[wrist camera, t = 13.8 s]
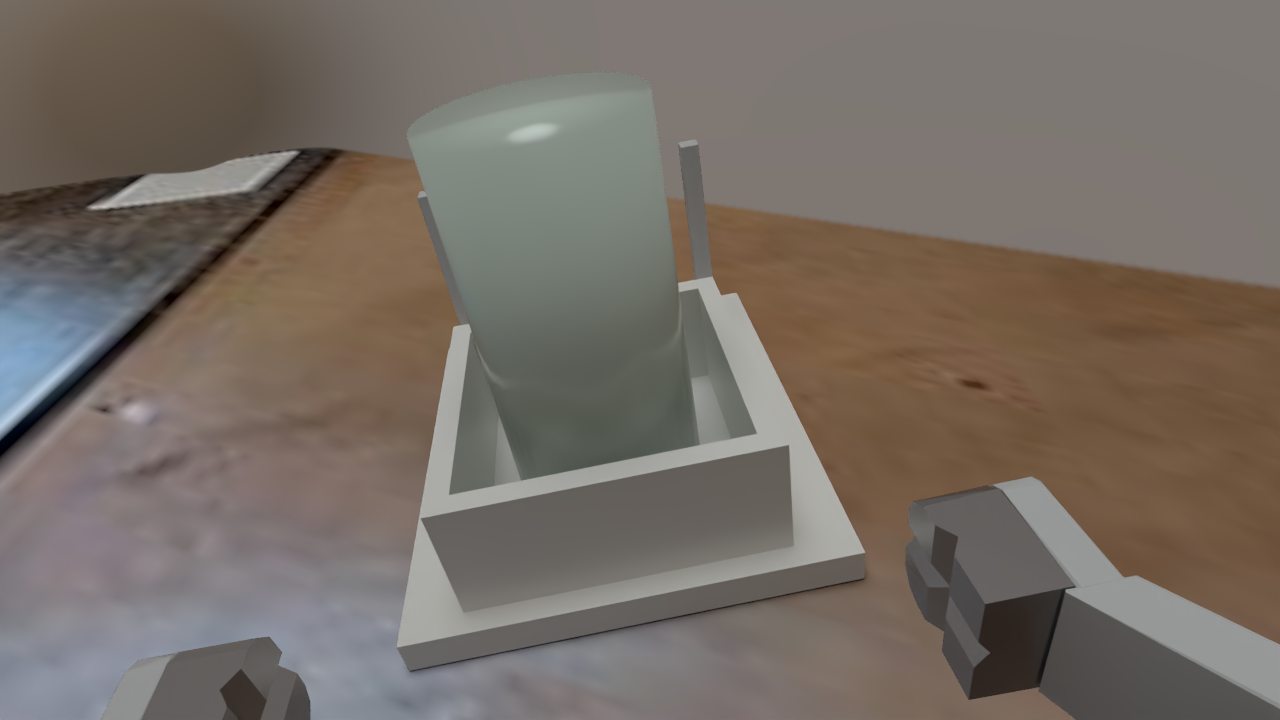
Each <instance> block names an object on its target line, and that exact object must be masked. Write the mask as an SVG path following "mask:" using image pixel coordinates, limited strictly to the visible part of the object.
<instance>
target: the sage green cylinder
mask: <svg viewBox="0 0 1280 720" xmlns="http://www.w3.org/2000/svg"><path fill="white" fill-rule="evenodd" d="M407 138H408V142H409V144H410V148H411V150H412V153H413V157H414V160H415V163H416V166H417V169H418V172H419V175H420V178H421V181H422V184H423V187H424V190H425V193H426V196H427V199H428V202H429V205H430V208H431V211H432V214H433V217H434V220H435V223H436V226H437V229H438V232H439V235H440V238H441V241H442V244H443V247H444V250H445V253H446V256H447V259H448V262H449V265H450V268H451V271H452V274H453V277H454V280H455V283H456V286H457V289H458V292H459V295H460V298H461V301H462V304H463V307H464V310H465V313H466V316H467V319H468V322H469V325H470V328H471V332H472V335H473V338H474V341H475V344H476V347H477V350H478V353H479V356H480V359H481V362H482V365H483V368H484V371H485V374H486V377H487V380H488V383H489V386H490V389H491V392H492V395H493V398H494V401H495V404H496V407H497V410H498V413H499V416H500V419H501V422H502V425H503V428H504V431H505V434H506V437H507V440H508V443H509V446H510V449H511V452H512V455H513V458H514V461H515V464H516V467H517V470H518V473H519V476H520V479H521V481H522V480H527V479H532V478H537V477H542V476H547V475H552V474H557V473H562V472H568V471H573V470H578V469H583V468H588V467H593V466H598V465H603V464H608V463H613V462H618V461H623V460H628V459H633V458H638V457H643V456H648V455H653V454H658V453H663V452H668V451H673V450H678V449H683V448H688V447H693V446H698V445H700V440H699V433H698V425H697V418H696V411H695V404H694V396H693V389H692V382H691V374H690V367H689V360H688V352H687V345H686V338H685V330H684V323H683V316H682V308H681V301H680V294H679V286H678V279H677V272H676V265H675V257H674V250H673V243H672V235H671V228H670V221H669V213H668V206H667V199H666V192H665V184H664V177H663V169H662V163H661V155H660V148H659V141H658V133H657V126H656V118H655V111H654V104H653V97H652V89H651V86H650V84H649V82H647V81H646V80H645V79H642V78H641V77H638V76H634V75H630V74H624V73H616V72H584V73H583V72H582V73H570V74H561V75H552V76H546V77H539V78H534V79H528V80H523V81H518V82H514V83H509V84H505V85H501V86H497V87H493V88H490V89H486V90H483V91H479V92H476V93H473V94H470V95H467V96H464V97H462V98H459V99H457V100H454V101H451V102H449V103H446V104H444V105H442V106H440V107H438V108H436V109H434V110H432V111H430V112H428V113H427V114H425V115H423V116H422V117H421V118H419V119H418V120H416V121H415V122H414V123H413V124H412V125H411V126H410V128H409V129H408V131H407Z"/></svg>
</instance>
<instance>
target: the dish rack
mask: <svg viewBox="0 0 1280 720" xmlns="http://www.w3.org/2000/svg"><path fill="white" fill-rule="evenodd" d="M678 147H679V156H680V164H681V172H682V180H683V189H684V197H685V205H686V213H687V221H688V230H689V238H690V246H691V254H692V262H693V271H694V279H695V280H692V281H687V282H682V283H678V286H679V294H680V301H681V308H682V316H683V323H684V330H685V338H686V345H687V352H688V360H689V367H690V374H691V382H692V389H693V396H694V404H695V411H696V418H697V425H698V433H699V440H700V445H698V446H693V447H688V448H683V449H678V450H673V451H668V452H663V453H658V454H653V455H648V456H643V457H638V458H633V459H628V460H623V461H618V462H613V463H608V464H603V465H598V466H593V467H588V468H583V469H578V470H573V471H568V472H562V473H557V474H552V475H547V476H542V477H537V478H532V479H527V480H522V481H521V479H520V476H519V473H518V470H517V467H516V464H515V461H514V458H513V455H512V452H511V449H510V446H509V443H508V440H507V437H506V434H505V431H504V428H503V425H502V422H501V419H500V416H499V413H498V410H497V407H496V404H495V401H494V398H493V395H492V392H491V389H490V386H489V383H488V380H487V377H486V374H485V371H484V368H483V365H482V362H481V359H480V356H479V353H478V350H477V347H476V344H475V341H474V338H473V335H472V332H471V328H470V325H469V322H468V319H467V316H466V313H465V310H464V307H463V304H462V301H461V298H460V295H459V292H458V289H457V286H456V283H455V280H454V277H453V274H452V271H451V268H450V265H449V262H448V259H447V256H446V253H445V250H444V247H443V244H442V241H441V238H440V235H439V232H438V229H437V226H436V223H435V220H434V217H433V214H432V211H431V208H430V205H429V202H428V199H427V196H426V193H425V191H421V192H419V195H418V198H417V199H418V202H419V204H420V207H421V210H422V213H423V216H424V219H425V222H426V225H427V228H428V231H429V234H430V237H431V240H432V243H433V246H434V249H435V252H436V255H437V257H438V260H439V263H440V266H441V269H442V272H443V275H444V278H445V281H446V284H447V287H448V290H449V293H450V296H451V299H452V302H453V305H454V308H455V310H456V313H457V316H458V319H459V322H460V326H455V327H454V328H453V333H452V339H451V345H450V349H449V350H448V356H447V361H446V367H445V373H444V379H443V384H442V390H441V396H440V402H439V407H438V413H437V419H436V424H435V430H434V436H433V442H432V447H431V453H430V459H429V465H428V470H427V476H426V482H425V487H424V493H423V499H422V505H421V510H420V516H419V522H418V528H417V533H416V539H415V545H414V550H413V556H412V562H411V568H410V573H409V579H408V585H407V591H406V596H405V602H404V608H403V613H402V619H401V625H400V631H399V636H398V642H397V649H398V651H399V653H400V655H401V657H402V658H403V660H404V662H405V664H406V665H407V667H408V669H409V671H411V670H416V669H421V668H426V667H431V666H436V665H441V664H446V663H450V662H455V661H460V660H465V659H470V658H475V657H480V656H485V655H490V654H495V653H500V652H504V651H509V650H514V649H519V648H524V647H529V646H534V645H539V644H544V643H549V642H554V641H559V640H563V639H568V638H573V637H578V636H583V635H588V634H593V633H598V632H603V631H608V630H613V629H617V628H622V627H627V626H632V625H637V624H642V623H647V622H652V621H657V620H662V619H667V618H672V617H676V616H681V615H686V614H691V613H696V612H701V611H706V610H711V609H716V608H721V607H726V606H731V605H735V604H740V603H745V602H750V601H755V600H760V599H765V598H770V597H775V596H780V595H785V594H789V593H794V592H799V591H804V590H809V589H814V588H819V587H824V586H829V585H834V584H839V583H844V582H848V581H853V580H858V579H863V578H864V574H865V551H864V549H863V547H862V545H861V543H860V541H859V539H858V537H857V535H856V533H855V531H854V529H853V527H852V525H851V523H850V521H849V519H848V517H847V515H846V513H845V511H844V509H843V507H842V505H841V503H840V501H839V499H838V497H837V495H836V493H835V491H834V489H833V487H832V485H831V483H830V481H829V479H828V477H827V475H826V473H825V471H824V469H823V466H822V464H821V462H820V460H819V458H818V456H817V454H816V452H815V450H814V448H813V446H812V444H811V442H810V440H809V438H808V436H807V434H806V432H805V430H804V428H803V426H802V424H801V422H800V420H799V418H798V416H797V414H796V412H795V410H794V408H793V406H792V404H791V402H790V400H789V398H788V396H787V394H786V392H785V390H784V388H783V386H782V384H781V382H780V380H779V378H778V376H777V374H776V372H775V370H774V368H773V366H772V364H771V362H770V360H769V358H768V356H767V354H766V352H765V350H764V348H763V346H762V344H761V342H760V340H759V338H758V336H757V333H756V331H755V329H754V327H753V325H752V323H751V321H750V319H749V317H748V315H747V313H746V311H745V309H744V307H743V305H742V303H741V301H740V299H739V297H738V295H737V293H732V294H727V295H722V296H721V294H720V292H719V290H718V288H717V286H716V283H715V281H714V279H713V277H712V269H711V259H710V250H709V241H708V231H707V222H706V212H705V203H704V194H703V185H702V175H701V165H700V156H699V147H698V143H697V142H696V140H695V139H694V140H690V141H684V142H679V143H678Z"/></svg>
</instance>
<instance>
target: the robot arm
mask: <svg viewBox="0 0 1280 720" xmlns="http://www.w3.org/2000/svg"><path fill="white" fill-rule="evenodd" d="M908 524H909V526H910V528H911V530H912V531H913V533H914V535H915V537H914V538H913V540H912V541H911V542H910V543H909V544H908V545H907V546H906V561H905V566H906V571H907V576H908V580H909V585H910V588H911V591H912V593H913V596H914V598H915V601H916V603H917V605H918V607H919V609H920V611H921V613H922V615H923V617H924V619H925V620H926V621H928V622H929V623H931V624H933V625H934V626H936V627H937V628H939V629H940V630H942V631H944V636H943V645H942V652H943V654H944V656H945V658H946V660H947V661H948V663H949V665H950V667H951V669H952V671H953V672H954V674H955V676H956V678H957V680H958V682H959V683H960V685H961V687H962V689H963V691H964V693H965V694H966V696H967V698H968V700H972V699H977V698H982V697H988V696H993V695H999V694H1004V693H1010V692H1015V691H1021V690H1026V689H1032V688H1037V687H1039V692H1040V693H1042V694H1043V695H1044V696H1046V697H1047V698H1048V699H1050V700H1051V701H1052V702H1054V703H1055V704H1056V705H1058V706H1059V707H1060V708H1062V709H1063V710H1064V711H1066V712H1067V713H1068V714H1069V715H1071V716H1072V717H1073V718H1075V719H1076V720H1280V645H1279V644H1277V643H1275V642H1273V641H1271V640H1269V639H1267V638H1265V637H1263V636H1261V635H1259V634H1257V633H1255V632H1252V631H1250V630H1248V629H1246V628H1244V627H1242V626H1240V625H1238V624H1236V623H1234V622H1232V621H1230V620H1228V619H1226V618H1224V617H1222V616H1220V615H1217V614H1215V613H1213V612H1211V611H1209V610H1207V609H1205V608H1203V607H1201V606H1199V605H1197V604H1195V603H1193V602H1191V601H1189V600H1187V599H1184V598H1182V597H1180V596H1178V595H1176V594H1174V593H1172V592H1170V591H1168V590H1166V589H1164V588H1162V587H1160V586H1158V585H1156V584H1154V583H1151V582H1149V581H1147V580H1145V579H1143V578H1141V577H1139V576H1137V575H1136V576H1130V577H1123V576H1122V575H1121V573H1120V572H1119V571H1118V570H1117V569H1116V568H1115V566H1114V565H1113V564H1112V563H1111V562H1110V561H1109V560H1108V558H1107V557H1106V556H1105V555H1104V554H1103V553H1102V552H1101V550H1100V549H1099V548H1098V547H1097V546H1096V545H1095V543H1094V542H1093V541H1092V540H1091V539H1090V538H1089V537H1088V535H1087V534H1086V533H1085V532H1084V531H1083V530H1082V528H1081V527H1080V526H1079V525H1078V524H1077V523H1076V522H1075V520H1074V519H1073V518H1072V517H1071V516H1070V515H1069V514H1068V512H1067V511H1066V510H1065V509H1064V508H1063V507H1062V505H1061V504H1060V503H1059V502H1058V501H1057V500H1056V499H1055V497H1054V496H1053V495H1052V494H1051V493H1050V492H1049V490H1048V489H1047V488H1046V487H1045V486H1044V485H1043V484H1042V482H1041V481H1039V480H1037V479H1035V478H1033V477H1028V478H1023V479H1018V480H1013V481H1009V482H1004V483H999V484H994V485H991V486H987V485H986V486H982V487H977V488H973V489H968V490H964V491H959V492H954V493H950V494H945V495H941V496H936V497H932V498H927V499H923V500H918V501H913V503H912V505H911V506H910V508H909V514H908ZM281 654H282V652H281V651H280V649H279V648H278V647H277V646H276V644H275V643H274V642H273V641H272V640H271V638H270V637H262V638H255V639H249V640H244V641H238V642H233V643H227V644H222V645H216V646H210V647H205V648H199V649H194V650H188V651H183V652H179V653H173V654H168V655H163V656H158V657H152V658H147V659H142V660H138V661H137V662H136V663H135V664H134V665H133V666H132V667H131V668H129V669H128V670H127V671H126V672H125V674H124V676H123V677H122V679H121V681H120V683H119V685H118V687H117V689H116V691H115V693H114V695H113V697H112V699H111V701H110V703H109V705H108V706H107V708H106V710H105V712H104V714H103V716H102V718H101V720H310V699H309V696H308V693H307V690H306V687H305V684H304V683H303V681H302V680H301V678H300V677H299V676H298V674H297V673H295V672H292V671H290V670H288V669H285V668H283V667H280V666H278V663H279V660H280V657H281Z"/></svg>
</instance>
